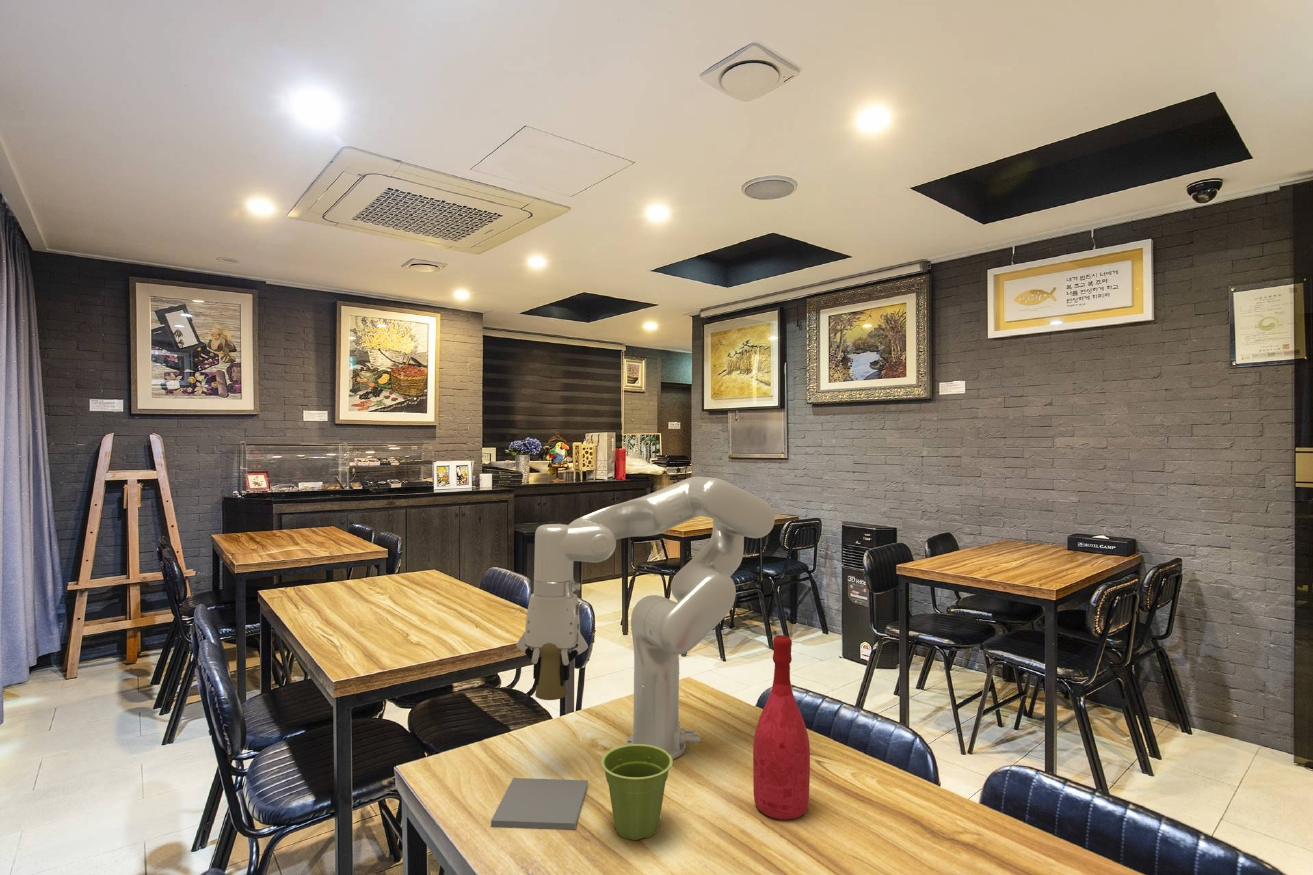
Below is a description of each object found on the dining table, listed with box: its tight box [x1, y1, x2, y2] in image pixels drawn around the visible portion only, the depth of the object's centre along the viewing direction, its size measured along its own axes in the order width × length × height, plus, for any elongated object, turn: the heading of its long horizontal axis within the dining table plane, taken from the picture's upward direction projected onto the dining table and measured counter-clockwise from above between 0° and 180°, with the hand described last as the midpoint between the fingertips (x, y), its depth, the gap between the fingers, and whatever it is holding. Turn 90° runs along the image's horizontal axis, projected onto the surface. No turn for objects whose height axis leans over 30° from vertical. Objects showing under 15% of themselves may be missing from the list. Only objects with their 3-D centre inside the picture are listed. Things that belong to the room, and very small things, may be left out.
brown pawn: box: [534, 643, 568, 701], centre depth 126 cm, size 6×6×11 cm
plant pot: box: [600, 744, 674, 841], centre depth 107 cm, size 12×12×11 cm
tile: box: [490, 777, 589, 831], centre depth 114 cm, size 14×14×1 cm
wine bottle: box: [752, 634, 811, 820], centre depth 114 cm, size 10×10×30 cm
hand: (551, 682), depth 126 cm, fingers closed on brown pawn, 4 cm apart
